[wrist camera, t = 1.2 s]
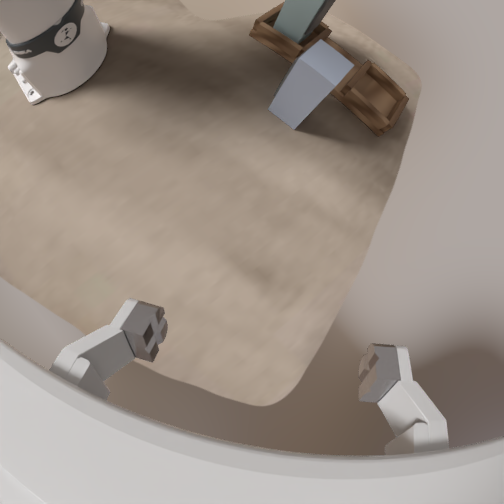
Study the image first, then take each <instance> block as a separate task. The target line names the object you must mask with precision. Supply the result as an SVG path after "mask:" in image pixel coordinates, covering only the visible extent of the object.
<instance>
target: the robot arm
mask: <svg viewBox="0 0 504 504" xmlns="http://www.w3.org/2000/svg"><path fill="white" fill-rule="evenodd" d="M109 30H110V27H109V25H108V24H107V23H102V22H100V21H99V19H98V17H97V15H96V13H95V11H94V9H93V7H92V6H87V5H84V4H83V0H0V32H1V33H2V34H3V35H4V36H5V38H6V43H7V45H8V47H9V49H10V52H11V54H12V56H13V58H14V59H13V61H12V62H11V63H10V64H9V65H8V69H9V70H10V71H11V72H12V73H13V74H14V76H15V78H16V80H17V81H18V83H19V85H20V87H21V89H22V90H23V92H24V94H25V96H26V97H27V99H28V101H29V102H30V103H31V104H32V105H34V104H37V103H39V102H40V101H42V100H44V99H46V98H48V97H54V96H59V95H62V94H65V93H68V92H70V91H72V90H74V89H75V88H77V87H78V86H80V85H81V84H83V83H84V82H85V81H87V80H88V79H89V78H90V77H91V76H92V75H93V74H94V73H95V72H96V70H97V69H98V68H99V67H100V65H101V63H102V62H103V60H104V58H105V55H106V52H107V42H106V37H107V35H108V33H109ZM164 314H165V312H164V308H163V307H160V306H156V305H153V304H149V303H146V302H143V301H139V300H136V299H132V298H129V299H128V300H126V302H125V303H124V305H123V306H122V308H121V309H120V310H119V312H118V313H117V315H116V316H115V318H114V319H113V321H112V322H111V324H110V325H105V326H103V327H102V328H100V329H98V330H96V331H94V332H92V333H90V334H88V335H87V336H85V337H83V338H81V339H79V340H77V341H75V342H73V343H72V344H70V345H68V346H66V347H64V348H63V349H62V351H61V352H60V354H59V355H58V357H57V359H56V360H55V362H54V363H53V365H52V367H51V368H50V369H49V370H48V369H46V368H44V367H43V366H41V365H39V364H38V363H36V362H35V361H33V360H31V359H30V358H28V357H27V356H25V355H24V354H22V353H21V352H19V351H18V350H16V349H15V348H14V347H12V346H11V345H10V344H8V343H7V342H5V341H4V340H2V339H0V504H504V436H502V437H498V438H494V439H490V440H487V441H483V442H479V443H474V444H470V445H465V446H460V447H454V448H449V443H448V432H447V424H446V419H445V418H444V417H443V415H442V414H441V413H440V411H439V410H438V409H437V407H436V406H435V405H434V404H433V402H432V401H431V400H430V398H429V397H428V396H427V395H426V393H425V392H424V391H423V389H422V388H421V387H420V386H419V384H418V383H417V382H416V381H413V377H412V371H411V365H410V359H409V353H408V349H407V347H405V346H394V345H384V344H370V345H369V347H368V349H367V350H368V353H367V354H365V355H363V357H362V359H361V361H360V364H359V371H358V377H359V379H360V380H361V381H362V383H361V384H360V386H359V401H364V402H378V405H379V407H380V409H381V410H382V412H383V414H384V416H385V417H386V419H387V421H388V423H389V425H390V426H391V429H392V430H393V432H394V434H395V436H396V438H395V439H394V440H392V441H391V442H389V443H388V444H387V445H386V446H385V455H379V456H340V455H321V454H308V453H298V452H289V451H281V450H274V449H267V448H262V447H256V446H250V445H245V444H240V443H235V442H230V441H226V440H222V439H217V438H213V437H209V436H206V435H202V434H198V433H194V432H191V431H187V430H184V429H181V428H177V427H175V426H171V425H168V424H165V423H162V422H159V421H156V420H154V419H151V418H148V417H145V416H143V415H140V414H138V413H135V412H133V411H130V410H128V409H125V408H123V407H120V406H118V405H116V404H113V403H111V402H109V401H107V397H108V395H109V394H110V391H109V389H108V387H107V386H106V384H105V383H104V382H103V381H104V380H106V379H107V378H109V377H110V376H111V375H113V374H114V373H115V372H117V371H118V370H120V369H121V368H122V367H124V366H125V365H127V364H128V363H129V362H131V361H132V360H133V359H135V357H136V358H139V359H143V360H146V361H149V362H153V361H154V359H155V357H156V355H157V353H158V351H159V348H158V344H160V343H162V342H163V341H164V339H165V337H166V334H167V329H168V324H167V320H166V319H165V318H164V317H163V316H164Z"/></svg>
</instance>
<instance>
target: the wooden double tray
mask: <svg viewBox="0 0 504 504" xmlns="http://www.w3.org/2000/svg"><path fill="white" fill-rule="evenodd" d="M283 4H284V2H283V3H282V4H280V5H278V6H277V7H275V8H273V9H272V10H270V11H269V12H267V13H265V14H264V15H262V16H261V17H259V18H258V19H256V21H255V24H254V27H253V29H252V30H251V31H250V34H249V36H251V37H253V38H254V39H256V40H258V41H259V42H261V43H262V44H264V45H266V46H267V47H269V48H270V49H272V50H273V51H275V52H276V53H278V54H279V55H281V56H282V57H284V58H285V59H286V60H288V61H289V62H291V63H293V62H294V60H296V59H297V58H298V57H299V56H300V55H301V54H302V53H303V52H305V51H306V50H307V49H308V48H309V47H310V46H311V45H312V46H313V45H314V44H316V43H317V42H318V41H319V40H320V39H321V40H323V41H324V42H326V43H327V44H328V45H330V46H331V47H332V48H334V49H335V50H336V51H337V52H339V53H340V54H341V55H343V56H344V57H345V58H346V59H348V60H349V61H350V62H351V63H352V64H354V66H353V67H352V69H351V70H350V71H349V72H348V73H347V74H346V75H345V76H344V78H343V79H342V80H341V81H340V82H339V83H338V84H337V86H336V87H335V88H334V89H333V90H332V91H331V92H330V93H331V94H332V95H333V96H335V97H336V98H337V99H338V100H339V101H340V102H342V103H343V104H344V105H345V106H346V107H347V108H348V109H349V110H351V111H352V112H353V113H354V114H355V115H356V116H357V117H358V118H359V119H360V120H361V121H363V122H364V123H365V124H366V125H367V126H368V127H369V128H370V129H371V130H372V131H373V132H374V133H375V134H376V135H377V136H380V135H382V134H383V133H384V132H386V131H387V130H389V129H391V128H393V126H394V125H395V123H396V121H397V120H398V118H399V116H400V114H401V113H402V111H403V109H404V107H405V106H406V104H407V102H408V100H409V98H408V97H407V96H406V93H405V92H404V91H403V90H402V89H401V88H400V87H399V86H398V85H397V84H396V83H395V82H394V81H393V80H392V79H391V78H390V77H389V76H388V75H387V74H386V73H385V72H384V71H383V70H382V69H380V68H379V67H378V66H377V65H376V64H375V63H371V62H370V61H369V60H368V61H366V62H365V63H364V64H363V65H362V64H361V63H360V62H358V61H357V60H356V59H355V58H354V57H352V56H351V55H350V54H349V53H347V52H346V51H345V50H344V49H342V48H341V47H340V46H339V45H337V44H336V43H335V42H333V41H332V40H331V39H329V38H328V36H329V35H330V33H331V32H332V31H331V30H330V29H329V28H328V27H329V26H327V25H326V24H324V23H323V22H320V24H319V25H318V26H317V27H316V28H315V29H314V30H313V31H312V33H311V34H310V35H309V36H308V37H307V38H306V39H304V40H303V41H302V42H301V43H299V44H297V43H296V42H294V41H293V40H291V39H290V38H288V37H287V36H285V35H284V34H282V33H280V32H279V31H277V30H276V29H274V28H273V27H274V24H275V22H276V20H277V18H278V15H279V13H280V11H281V9H282V7H283Z"/></svg>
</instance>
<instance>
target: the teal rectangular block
mask: <svg viewBox="0 0 504 504" xmlns="http://www.w3.org/2000/svg"><path fill="white" fill-rule="evenodd" d="M334 2H335V0H285V2H284V4H283V7H282V9H281V11H280V13H279V15H278V18H277V20H276V22H275V24H274V27H273V28H274V29H276V30H277V31H279V32H280V33H282V34H284V35H285V36H287V37H288V38H290V39H291V40H293V41H294V42H296V43H297V44H299V43H301V42H302V41H303V40H304V39H306V38H307V37H308V36H309V35H310V34H311V33H312V31H313V30H314V29H315V28H316V27H317V26H318V25H319V24H320V22H321V21H322V19H323V18H324V16H325V15H326V13H327V12H328V10H329V9H330V7H331V6H332V5H333V3H334Z"/></svg>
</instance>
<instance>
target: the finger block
mask: <svg viewBox="0 0 504 504" xmlns="http://www.w3.org/2000/svg"><path fill="white" fill-rule="evenodd" d="M353 66H354V64H352V63H351V62H350V61H349V60H348V59H346V58H345V57H344V56H343V55H341V54H340V53H339V52H337V51H336V50H335V49H334V48H332V47H331V46H330V45H328V44H327V43H326V42H324V41H323V40H321V39H320V40H319V41H318V42H317V43H316V44H314V45H313V46H312V45H311V46H310V47H309V48H308V49H307V50H306V51H305V52H303V53H302V54H301V55H300V56H299V57H298V58H297V59H296V60H294V62H293V63H292V65H291V67H290V68H289V70H288V72H287V73H286V75H285V77H284V78H283V80H282V82H281V83H280V85H279V87H278V88H277V90H276V92H275V94H274V96H275V98H274V100H273V101H272V103H271V105H270V106H269V108H268V110H269V111H270V112H272V113H273V114H274V115H276V116H277V117H278V118H280V119H281V120H282V121H283V122H285V123H286V124H287V125H289V126H290V127H291V128H292V129H295V128H296V127H297V126H298V125H299V124H300V123H301V122H302V121H303V120H304V119H305V118H306V117H307V116H308V115H309V113H310V112H311V111H312V110H313V109H314V108H315V107H316V106H317V105H318V104H319V103H320V102H321V101H322V100H323V99H324V98H325V97H326V96H327V95H328V94H329V93H330V92H331V91H332V90H333V89H334V88H335V87H336V86H337V84H338V83H339V82H340V81H341V80H342V79H343V78H344V76H345V75H346V74H347V73H348V72H349V71H350V70H351V69H352V67H353Z"/></svg>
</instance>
